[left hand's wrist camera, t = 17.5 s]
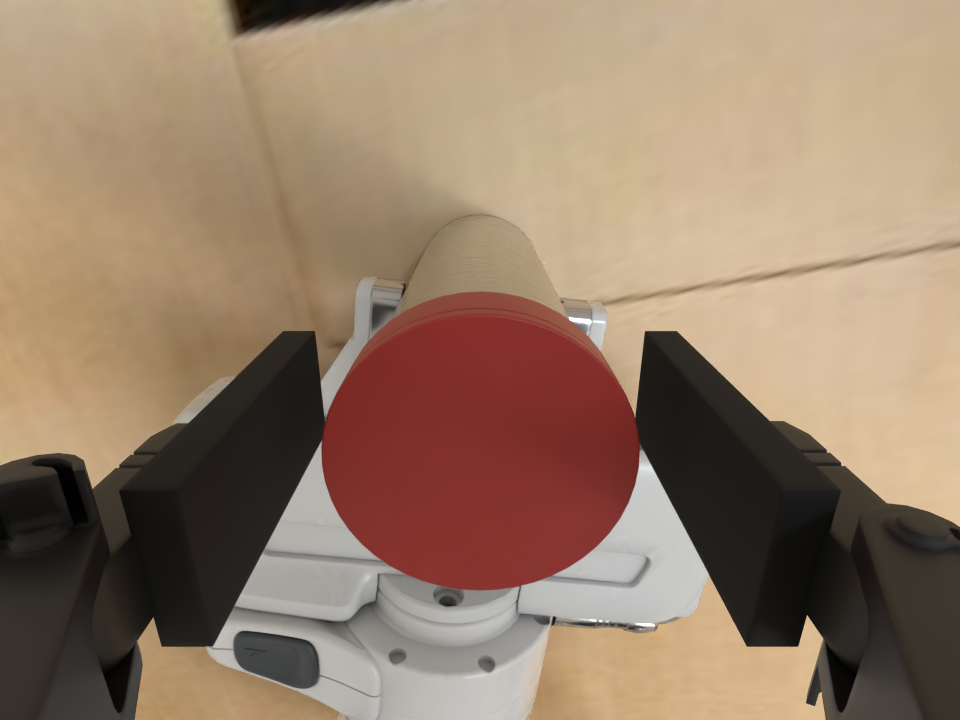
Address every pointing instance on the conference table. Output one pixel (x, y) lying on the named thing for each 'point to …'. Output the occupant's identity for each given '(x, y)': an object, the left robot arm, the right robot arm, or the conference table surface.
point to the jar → (480, 264)
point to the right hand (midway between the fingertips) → (481, 292)
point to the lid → (480, 443)
